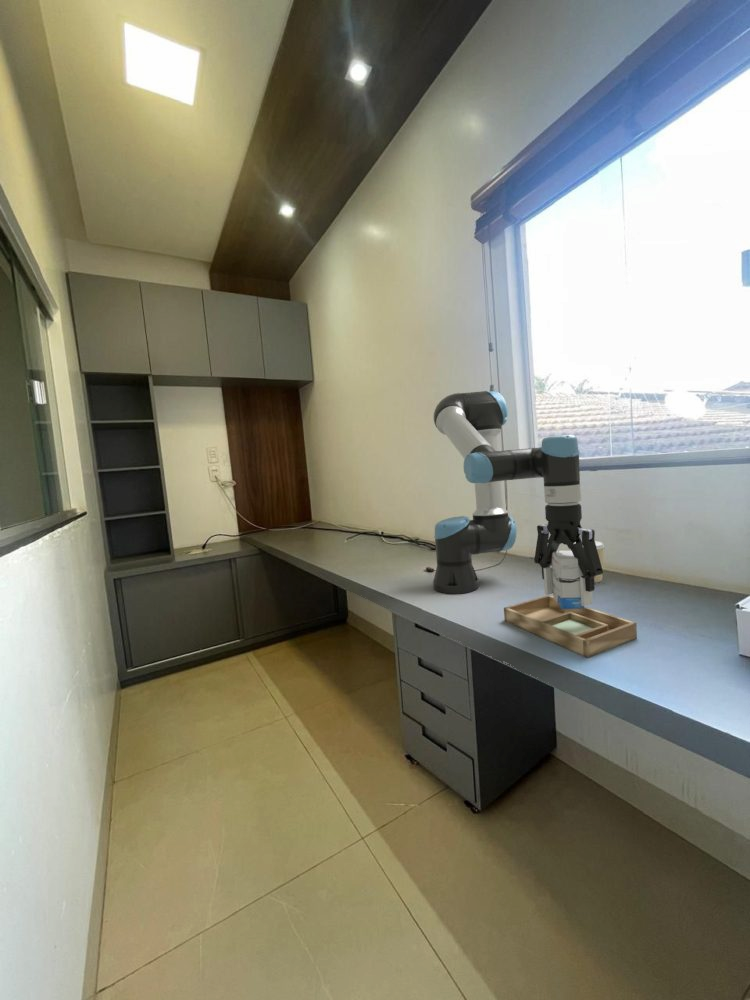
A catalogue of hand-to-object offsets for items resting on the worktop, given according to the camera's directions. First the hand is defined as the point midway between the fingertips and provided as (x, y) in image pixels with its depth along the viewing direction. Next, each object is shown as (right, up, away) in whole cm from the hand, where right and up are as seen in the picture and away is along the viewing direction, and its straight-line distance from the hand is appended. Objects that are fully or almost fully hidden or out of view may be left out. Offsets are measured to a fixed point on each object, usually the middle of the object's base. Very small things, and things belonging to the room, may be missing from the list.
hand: (567, 598), depth 93 cm
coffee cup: (+26, -3, +38) cm, 46 cm away
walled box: (+1, -8, +3) cm, 9 cm away
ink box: (0, -1, 0) cm, 1 cm away
